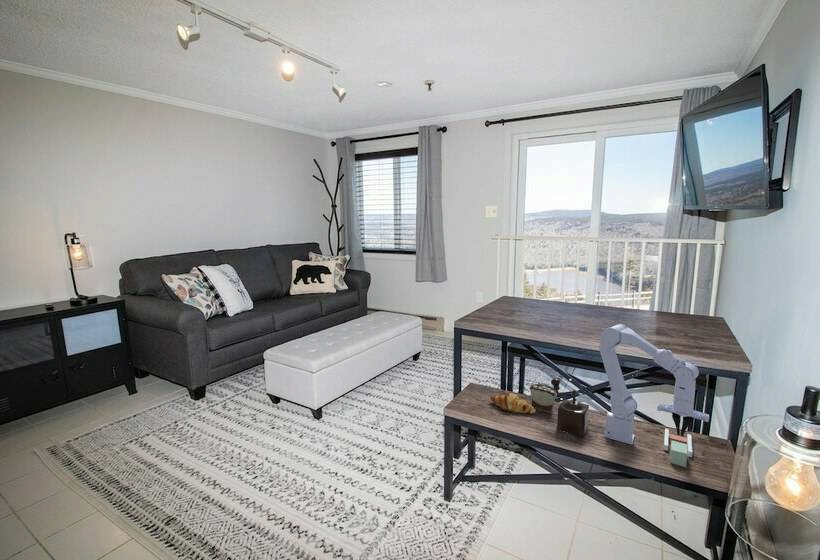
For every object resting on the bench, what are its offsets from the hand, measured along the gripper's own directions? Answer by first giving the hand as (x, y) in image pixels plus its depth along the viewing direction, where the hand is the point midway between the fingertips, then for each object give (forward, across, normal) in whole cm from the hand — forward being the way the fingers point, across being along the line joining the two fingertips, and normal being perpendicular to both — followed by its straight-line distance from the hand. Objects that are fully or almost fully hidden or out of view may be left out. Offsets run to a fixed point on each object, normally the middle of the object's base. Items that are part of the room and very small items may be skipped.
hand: (680, 434), depth 135 cm
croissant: (+10, -62, +5) cm, 63 cm away
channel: (+9, 0, +11) cm, 15 cm away
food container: (+10, -50, +14) cm, 53 cm away
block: (+10, 0, 0) cm, 10 cm away
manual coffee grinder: (+10, -38, +2) cm, 39 cm away
